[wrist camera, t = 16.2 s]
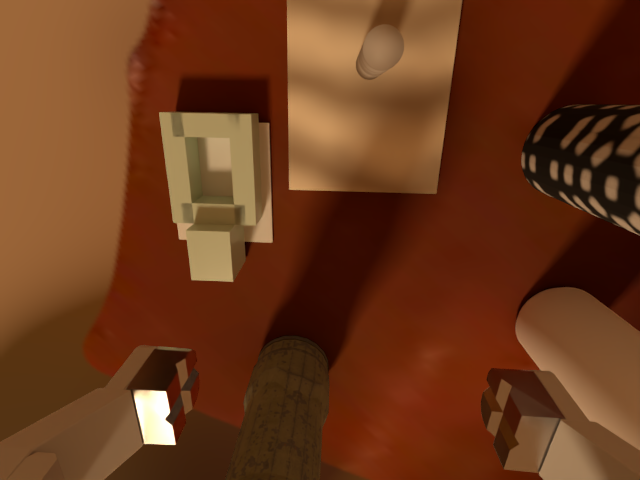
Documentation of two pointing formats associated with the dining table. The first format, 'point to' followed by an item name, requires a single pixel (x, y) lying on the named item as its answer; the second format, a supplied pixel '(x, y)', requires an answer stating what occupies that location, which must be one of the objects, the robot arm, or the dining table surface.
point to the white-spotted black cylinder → (589, 160)
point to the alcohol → (586, 355)
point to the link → (213, 211)
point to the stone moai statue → (283, 413)
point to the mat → (220, 180)
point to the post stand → (369, 93)
